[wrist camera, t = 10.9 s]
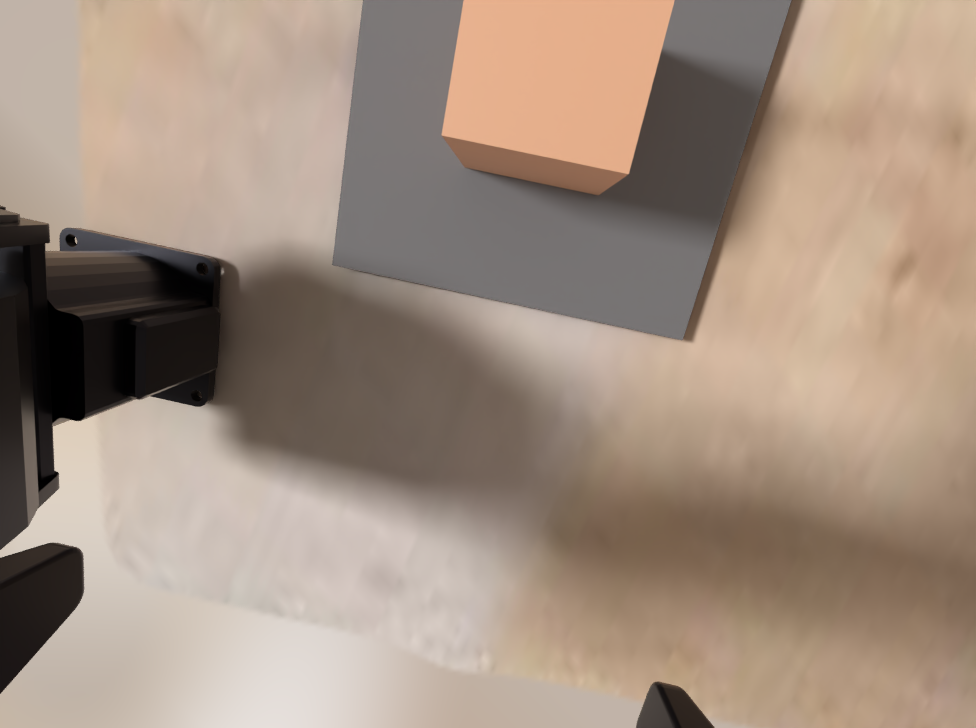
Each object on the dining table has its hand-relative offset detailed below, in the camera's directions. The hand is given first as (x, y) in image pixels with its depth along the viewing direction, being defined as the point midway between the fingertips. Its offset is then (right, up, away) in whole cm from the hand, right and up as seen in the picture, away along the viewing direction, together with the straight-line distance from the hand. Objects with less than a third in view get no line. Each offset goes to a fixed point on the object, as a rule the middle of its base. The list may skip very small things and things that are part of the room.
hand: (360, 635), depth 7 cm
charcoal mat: (+4, +13, +10) cm, 17 cm away
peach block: (+4, +13, +9) cm, 17 cm away
